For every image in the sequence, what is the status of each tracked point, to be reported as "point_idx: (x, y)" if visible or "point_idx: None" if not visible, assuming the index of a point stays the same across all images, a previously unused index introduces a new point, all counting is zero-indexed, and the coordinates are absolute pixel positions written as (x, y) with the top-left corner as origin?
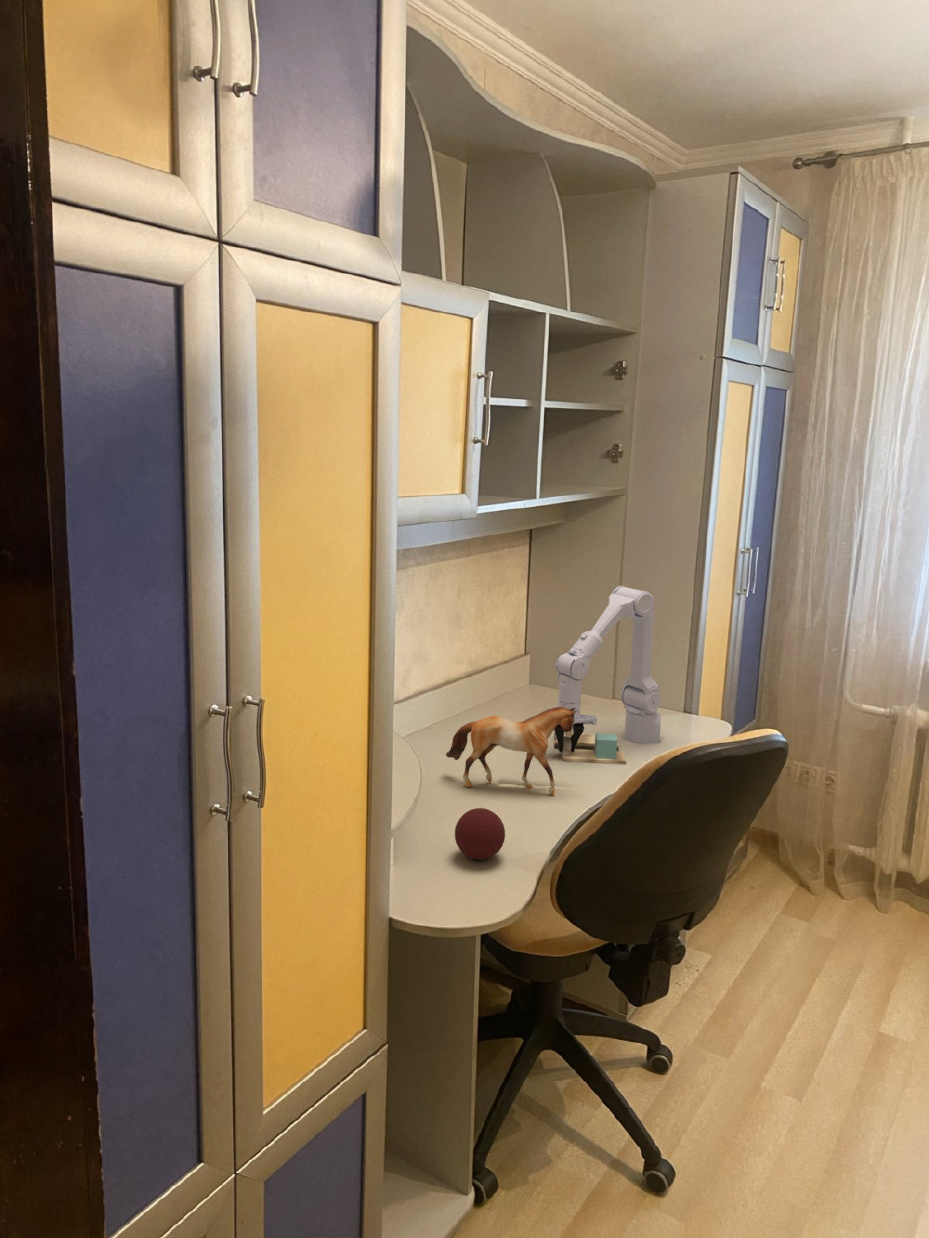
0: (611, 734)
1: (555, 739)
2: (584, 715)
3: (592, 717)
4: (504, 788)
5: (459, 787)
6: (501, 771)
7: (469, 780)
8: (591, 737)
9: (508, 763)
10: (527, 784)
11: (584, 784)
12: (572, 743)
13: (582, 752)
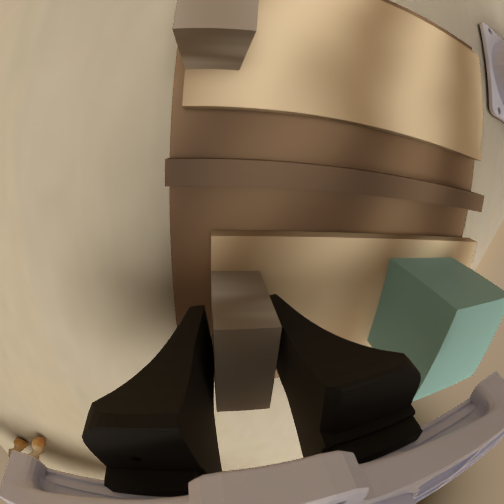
0: (500, 306)
1: (187, 68)
2: (477, 449)
3: (491, 442)
4: (81, 457)
5: (13, 437)
6: (30, 393)
7: (20, 450)
8: (413, 46)
9: (18, 343)
10: None
11: (268, 446)
12: (278, 366)
13: (329, 283)
